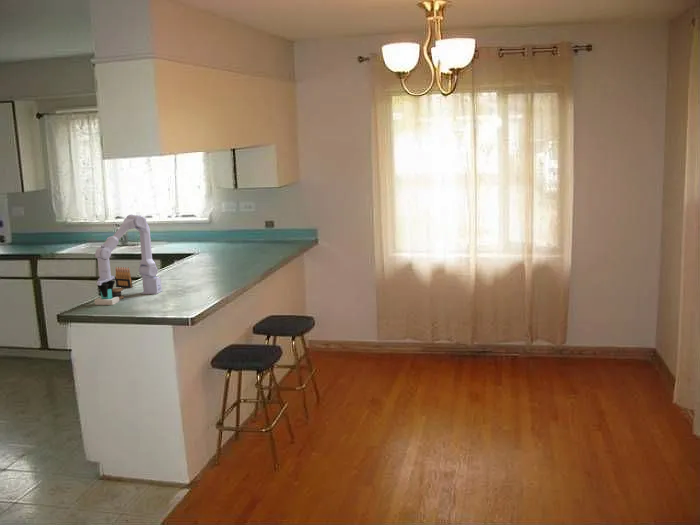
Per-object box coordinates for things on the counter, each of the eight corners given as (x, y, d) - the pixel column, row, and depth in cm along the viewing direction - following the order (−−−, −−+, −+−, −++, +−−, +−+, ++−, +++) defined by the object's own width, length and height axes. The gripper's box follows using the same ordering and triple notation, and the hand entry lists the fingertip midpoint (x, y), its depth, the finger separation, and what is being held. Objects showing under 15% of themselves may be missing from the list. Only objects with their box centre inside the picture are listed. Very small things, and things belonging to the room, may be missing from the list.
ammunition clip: (116, 287, 400) (113, 266, 397) (118, 286, 401) (116, 266, 399) (130, 288, 395) (128, 267, 393) (132, 287, 397) (130, 267, 394)
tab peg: (112, 299, 365) (111, 288, 364) (108, 301, 361) (107, 290, 360) (105, 299, 366) (104, 288, 365) (101, 301, 362) (100, 290, 361)
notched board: (119, 301, 365) (118, 296, 365) (112, 304, 358) (112, 300, 358) (102, 301, 367) (101, 296, 367) (95, 304, 360) (94, 300, 360)
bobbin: (126, 296, 375) (125, 288, 374) (119, 299, 368) (118, 291, 367) (114, 296, 376) (113, 287, 375) (107, 299, 370) (106, 291, 369)
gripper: (104, 267, 368) (107, 292, 371) (90, 273, 354) (93, 299, 357) (117, 267, 367) (119, 292, 369) (102, 273, 353) (105, 299, 355)
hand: (107, 295), depth 363 cm, fingers closed on tab peg, 4 cm apart
